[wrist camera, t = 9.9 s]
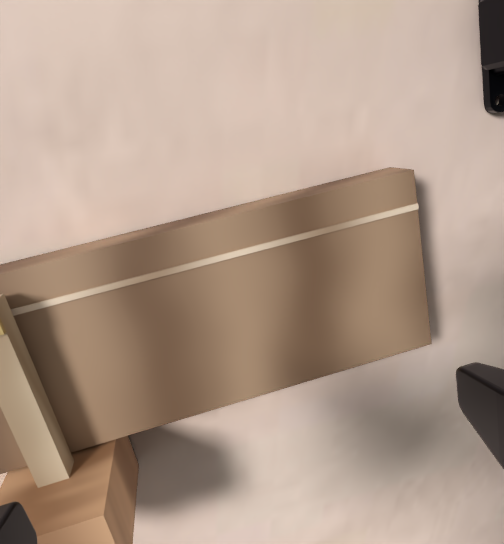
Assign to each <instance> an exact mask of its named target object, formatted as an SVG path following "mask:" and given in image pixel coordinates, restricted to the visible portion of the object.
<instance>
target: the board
mask: <svg viewBox="0 0 504 544" xmlns="http://www.w3.org/2000/svg"><path fill="white" fill-rule="evenodd" d="M418 209H419V206H418V203H417V196H416V186H415V177H414V170H411V169H401V168H391V167H390V168H386V169H382V170H378V171H374V172H370V173H366V174H362V175H358V176H354V177H350V178H346V179H342V180H338V181H334V182H330V183H326V184H322V185H318V186H314V187H310V188H306V189H302V190H298V191H294V192H290V193H286V194H282V195H278V196H274V197H270V198H266V199H262V200H258V201H254V202H250V203H246V204H242V205H238V206H234V207H230V208H226V209H222V210H218V211H214V212H210V213H206V214H202V215H198V216H194V217H190V218H186V219H182V220H178V221H174V222H170V223H166V224H162V225H158V226H154V227H150V228H146V229H142V230H138V231H134V232H130V233H126V234H122V235H118V236H114V237H110V238H106V239H102V240H98V241H94V242H90V243H86V244H82V245H78V246H74V247H70V248H66V249H62V250H58V251H54V252H50V253H46V254H42V255H38V256H34V257H29V258H25V259H21V260H17V261H13V262H9V263H5V264H1V265H0V294H4V295H5V298H6V300H7V302H8V305H9V307H10V309H11V312H12V314H13V317H14V319H15V321H16V324H17V326H18V328H19V331H20V333H21V336H22V338H23V340H24V343H25V345H26V347H27V350H28V352H29V355H30V357H31V359H32V362H33V364H34V367H35V369H36V371H37V374H38V376H39V378H40V381H41V383H42V386H43V388H44V390H45V393H46V395H47V397H48V400H49V402H50V405H51V407H52V409H53V412H54V414H55V416H56V419H57V421H58V424H59V426H60V428H61V431H62V433H63V435H64V438H65V440H66V443H67V445H68V447H69V450H70V452H75V451H78V450H81V449H85V448H88V447H91V446H95V445H98V444H101V443H105V442H108V441H111V440H115V439H118V438H121V437H125V436H128V435H131V434H134V433H138V432H141V431H144V430H148V429H151V428H154V427H158V426H161V425H164V424H168V423H171V422H174V421H178V420H181V419H184V418H187V417H191V416H194V415H197V414H201V413H204V412H207V411H211V410H214V409H217V408H221V407H224V406H227V405H231V404H234V403H237V402H240V401H244V400H247V399H250V398H254V397H257V396H260V395H264V394H267V393H270V392H274V391H277V390H280V389H284V388H287V387H290V386H293V385H297V384H300V383H303V382H307V381H310V380H313V379H317V378H320V377H323V376H327V375H330V374H333V373H337V372H340V371H343V370H347V369H350V368H353V367H356V366H360V365H363V364H366V363H370V362H373V361H376V360H380V359H383V358H386V357H390V356H393V355H396V354H400V353H403V352H406V351H409V350H413V349H416V348H419V347H423V346H426V345H429V344H431V334H430V324H429V314H428V304H427V294H426V285H425V275H424V265H423V255H422V245H421V236H420V226H419V216H418ZM25 466H28V465H27V463H26V461H25V459H24V457H23V455H22V452H21V450H20V448H19V446H18V444H17V442H16V439H15V437H14V435H13V433H12V431H11V429H10V426H9V424H8V422H7V420H6V418H5V416H4V414H3V411H2V409H1V407H0V474H2V473H5V472H9V471H12V470H15V469H18V468H22V467H25Z"/></svg>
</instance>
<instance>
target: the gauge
mask: <svg viewBox="0 0 504 544" xmlns="http://www.w3.org/2000/svg"><path fill="white" fill-rule="evenodd" d="M0 407H1V409H2V411H3V414H4V416H5V418H6V420H7V422H8V424H9V426H10V429H11V431H12V433H13V435H14V437H15V439H16V442H17V444H18V446H19V448H20V450H21V452H22V455H23V457H24V459H25V461H26V463H27V465H28V466H25V467H22V468H18V469H15V470H12V471H9V472H8V473H7V475H6V477H5V479H4V481H3V484H2V486H1V488H0V506H1V505H4V504H7V503H11V502H14V501H16V502H19V503H20V504H22V506H23V508H24V510H25V512H26V514H27V515H28V517H29V519H30V521H31V523H32V525H33V527H34V529H35V531H36V535H37V544H132V543H133V531H134V518H135V506H136V493H137V481H138V468H139V465H138V462H137V459H136V456H135V454H134V451H133V448H132V446H131V443H130V440H129V437H128V436H125V437H121V438H118V439H115V440H111V441H108V442H105V443H101V444H98V445H95V446H91V447H88V448H85V449H81V450H78V451H75V452H70V450H69V447H68V445H67V443H66V440H65V438H64V435H63V433H62V431H61V428H60V426H59V424H58V421H57V419H56V416H55V414H54V412H53V409H52V407H51V405H50V402H49V400H48V397H47V395H46V393H45V390H44V388H43V386H42V383H41V381H40V378H39V376H38V374H37V371H36V369H35V367H34V364H33V362H32V359H31V357H30V355H29V352H28V350H27V347H26V345H25V343H24V340H23V338H22V336H21V333H20V331H19V328H18V326H17V324H16V321H15V319H14V317H13V314H12V312H11V309H10V307H9V305H8V302H7V300H6V298H5V295H4V294H0Z"/></svg>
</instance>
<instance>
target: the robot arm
mask: <svg viewBox="0 0 504 544" xmlns="http://www.w3.org/2000/svg"><path fill="white" fill-rule="evenodd" d="M478 7H479V26H480V45H481V64H482V74H483V93H484V106H485V109H486V110H487V111H488V112H490V113H497V112H504V0H479V5H478ZM497 96H498V97H499V103H498V105H496V103H495V99H496V97H497ZM456 381H457V392H458V402H459V405H460V408H461V410H462V412H463V413H464V415H465V416H466V417H467V419H468V420H469V422H470V423H471V424H472V426H473V427H474V429H475V430H476V431H477V433H478V434H479V436H480V437H481V438H482V440H483V441H484V443H485V444H486V445H487V447H488V448H489V450H490V451H491V452H492V454H493V455H494V457H495V458H496V459H497V461H498V462H499V464H500V465H501V466H502V468H503V469H504V369H500V368H496V367H492V366H489V365H485V364H481V363H471V364H468V365H464V366H461V367H459V368H458V369H457V371H456ZM0 544H37V535H36V531H35V529H34V527H33V525H32V523H31V521H30V519H29V517H28V515H27V514H26V512H25V510H24V508H23V506H22V504H20V503H19V502H16V501H14V502H11V503H7V504H4V505H1V506H0Z"/></svg>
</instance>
